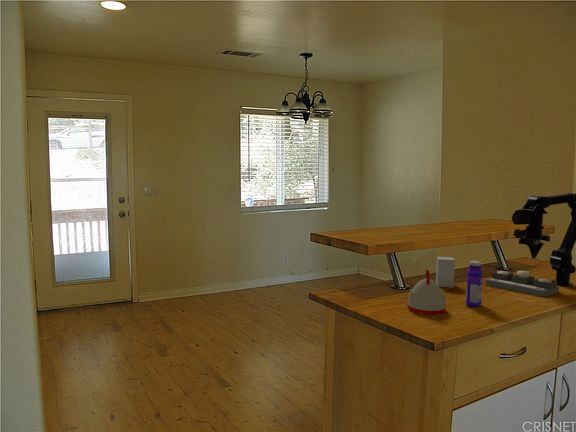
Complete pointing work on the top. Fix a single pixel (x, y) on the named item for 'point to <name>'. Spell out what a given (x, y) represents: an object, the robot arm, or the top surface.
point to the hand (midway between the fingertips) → (533, 258)
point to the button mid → (523, 274)
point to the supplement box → (445, 271)
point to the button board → (523, 284)
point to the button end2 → (545, 280)
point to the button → (502, 272)
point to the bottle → (474, 285)
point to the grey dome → (427, 298)
